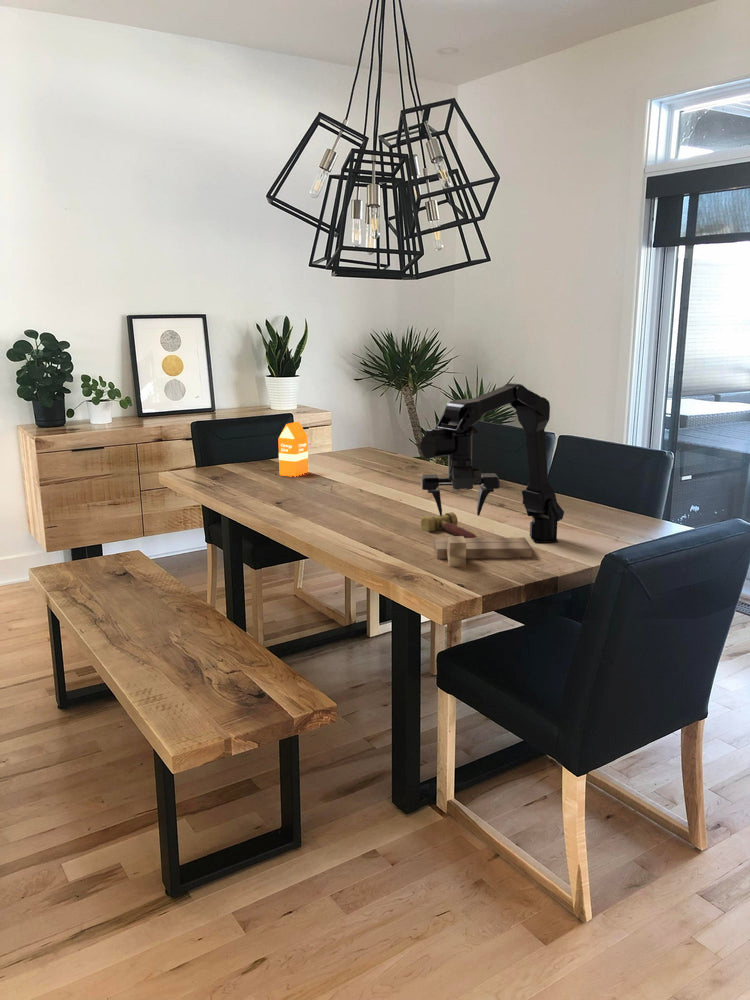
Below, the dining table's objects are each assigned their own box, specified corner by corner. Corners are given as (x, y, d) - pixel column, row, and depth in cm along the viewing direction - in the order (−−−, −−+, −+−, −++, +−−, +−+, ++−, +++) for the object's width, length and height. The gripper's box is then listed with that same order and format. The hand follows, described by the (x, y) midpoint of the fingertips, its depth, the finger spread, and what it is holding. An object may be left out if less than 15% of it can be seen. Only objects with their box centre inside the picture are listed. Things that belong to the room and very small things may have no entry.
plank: (524, 546, 215) (524, 537, 214) (531, 557, 205) (532, 548, 204) (434, 547, 215) (434, 538, 214) (437, 558, 205) (437, 548, 204)
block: (460, 552, 211) (460, 530, 209) (465, 566, 199) (466, 542, 197) (445, 552, 210) (445, 530, 209) (449, 566, 199) (449, 542, 197)
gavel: (494, 530, 219) (464, 536, 215) (493, 546, 221) (463, 552, 216) (449, 510, 237) (420, 515, 232) (448, 525, 238) (420, 530, 233)
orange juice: (279, 475, 312) (277, 423, 308) (292, 471, 320) (290, 420, 315) (296, 476, 309) (294, 424, 304) (308, 472, 316) (307, 421, 312)
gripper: (423, 460, 189) (424, 524, 192) (503, 458, 189) (502, 523, 193) (420, 451, 200) (421, 513, 203) (496, 450, 200) (495, 511, 203)
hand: (459, 515), depth 200 cm, fingers open, 9 cm apart
